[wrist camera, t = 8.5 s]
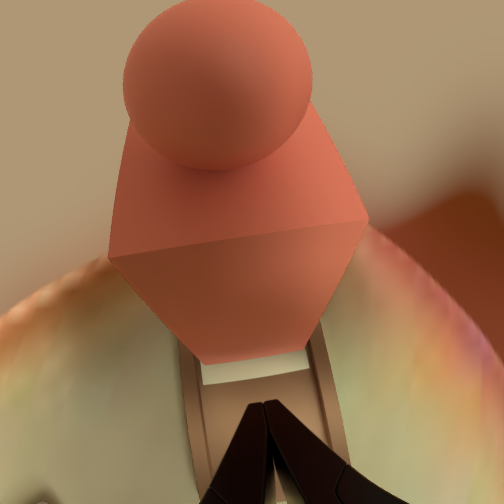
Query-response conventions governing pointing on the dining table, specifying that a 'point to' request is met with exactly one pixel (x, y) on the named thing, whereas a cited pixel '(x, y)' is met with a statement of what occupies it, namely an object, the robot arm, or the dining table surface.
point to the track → (258, 400)
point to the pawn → (230, 183)
